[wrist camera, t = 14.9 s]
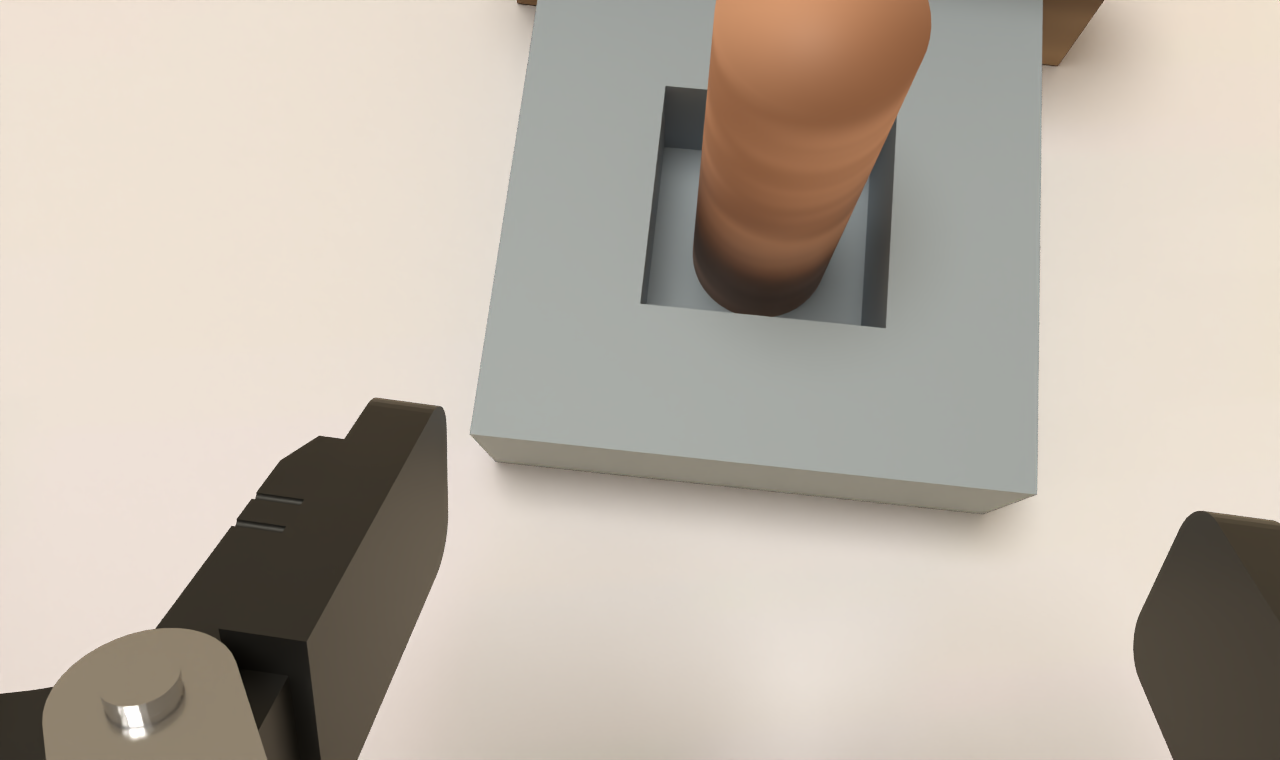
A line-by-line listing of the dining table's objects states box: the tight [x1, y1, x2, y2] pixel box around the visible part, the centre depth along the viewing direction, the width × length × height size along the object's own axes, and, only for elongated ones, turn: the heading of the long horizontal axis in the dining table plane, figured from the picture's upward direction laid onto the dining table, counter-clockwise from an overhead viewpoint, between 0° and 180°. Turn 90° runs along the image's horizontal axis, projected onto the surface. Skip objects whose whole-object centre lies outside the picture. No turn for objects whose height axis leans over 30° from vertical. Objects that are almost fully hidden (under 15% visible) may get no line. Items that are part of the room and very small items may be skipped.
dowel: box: [693, 0, 931, 317], centre depth 20 cm, size 3×3×10 cm
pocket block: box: [470, 0, 1043, 514], centre depth 24 cm, size 12×12×4 cm
